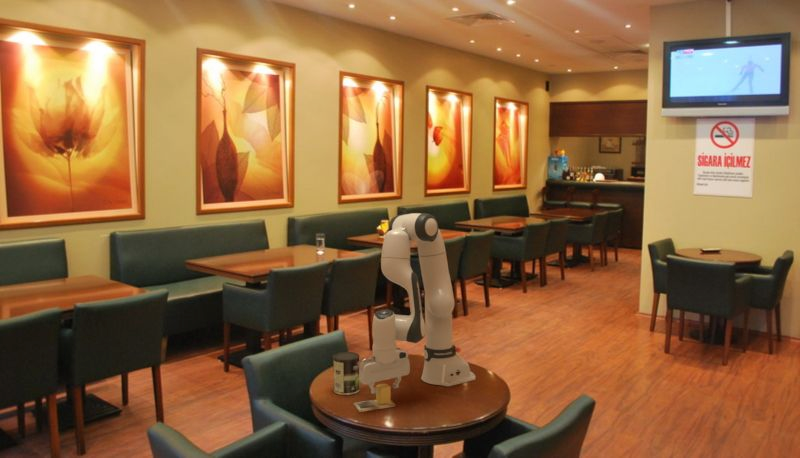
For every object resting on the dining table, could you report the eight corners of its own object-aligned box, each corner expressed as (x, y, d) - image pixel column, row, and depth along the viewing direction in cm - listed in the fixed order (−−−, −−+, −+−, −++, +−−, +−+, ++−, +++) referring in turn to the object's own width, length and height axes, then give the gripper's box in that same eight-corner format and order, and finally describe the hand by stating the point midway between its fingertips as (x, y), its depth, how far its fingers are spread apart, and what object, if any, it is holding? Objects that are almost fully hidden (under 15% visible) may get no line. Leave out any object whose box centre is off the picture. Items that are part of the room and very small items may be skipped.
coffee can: (362, 386, 261) (362, 352, 259) (355, 396, 251) (355, 360, 249) (337, 384, 263) (337, 350, 261) (330, 394, 253) (329, 359, 251)
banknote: (388, 399, 247) (388, 396, 247) (395, 406, 241) (395, 403, 241) (353, 405, 242) (353, 402, 242) (359, 412, 236) (359, 409, 236)
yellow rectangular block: (385, 398, 246) (385, 383, 245) (390, 402, 242) (390, 386, 241) (376, 400, 244) (376, 385, 243) (380, 404, 240) (380, 388, 239)
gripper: (363, 362, 232) (364, 399, 234) (412, 352, 243) (412, 387, 245) (355, 357, 237) (356, 393, 239) (402, 347, 248) (403, 382, 250)
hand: (384, 390), depth 242 cm, fingers open, 8 cm apart
